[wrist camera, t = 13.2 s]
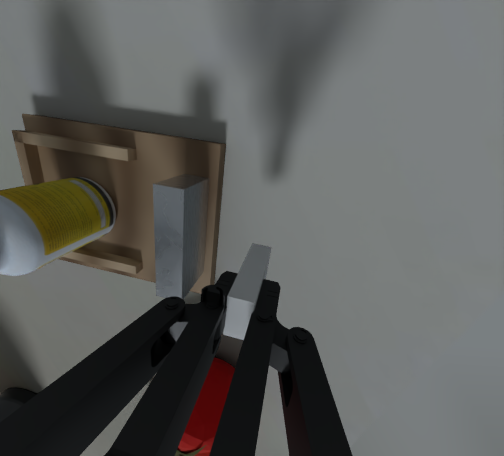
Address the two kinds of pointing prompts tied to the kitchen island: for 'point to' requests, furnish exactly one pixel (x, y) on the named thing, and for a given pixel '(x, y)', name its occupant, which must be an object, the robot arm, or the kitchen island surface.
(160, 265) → the jaw
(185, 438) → the tomato
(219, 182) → the board
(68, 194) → the pill bottle
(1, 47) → the kitchen island surface
